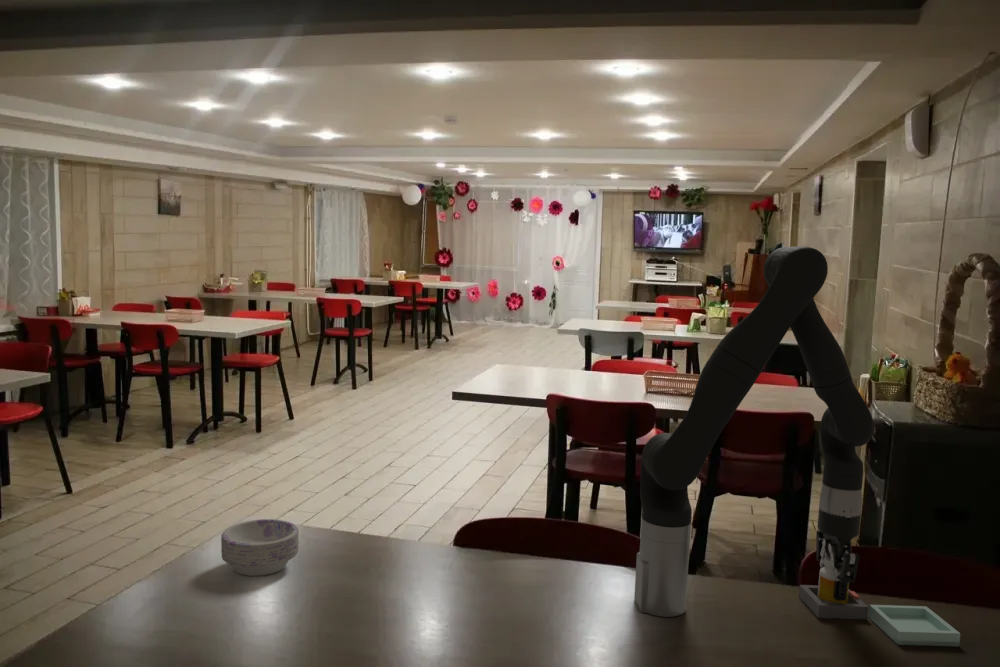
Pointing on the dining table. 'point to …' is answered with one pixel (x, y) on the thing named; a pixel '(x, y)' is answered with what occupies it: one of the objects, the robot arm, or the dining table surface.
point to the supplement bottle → (828, 583)
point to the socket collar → (833, 605)
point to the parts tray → (914, 625)
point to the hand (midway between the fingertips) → (832, 592)
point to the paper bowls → (259, 546)
